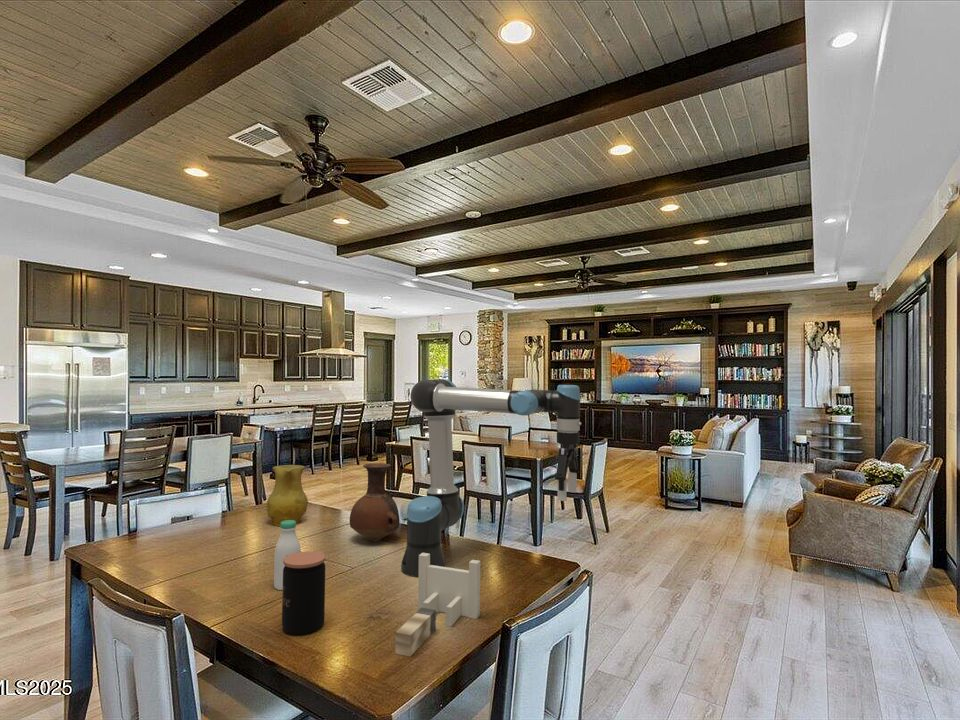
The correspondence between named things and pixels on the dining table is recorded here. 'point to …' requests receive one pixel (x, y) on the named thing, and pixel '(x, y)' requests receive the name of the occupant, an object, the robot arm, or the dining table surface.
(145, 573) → the dining table surface
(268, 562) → the dining table surface
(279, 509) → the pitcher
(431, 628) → the beige wooden block
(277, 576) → the milk bottle
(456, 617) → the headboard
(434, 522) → the robot arm
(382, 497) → the vase
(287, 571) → the coffee jar
